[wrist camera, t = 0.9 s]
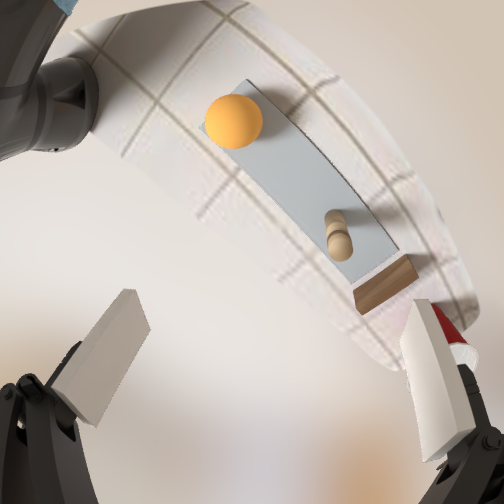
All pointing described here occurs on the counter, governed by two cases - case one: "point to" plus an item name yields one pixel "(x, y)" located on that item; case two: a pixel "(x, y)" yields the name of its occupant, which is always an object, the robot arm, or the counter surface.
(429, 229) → the counter surface
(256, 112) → the ball
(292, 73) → the counter surface
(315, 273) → the counter surface
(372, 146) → the counter surface
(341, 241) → the pin
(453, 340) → the plastic cup
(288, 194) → the lane mark
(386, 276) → the board
